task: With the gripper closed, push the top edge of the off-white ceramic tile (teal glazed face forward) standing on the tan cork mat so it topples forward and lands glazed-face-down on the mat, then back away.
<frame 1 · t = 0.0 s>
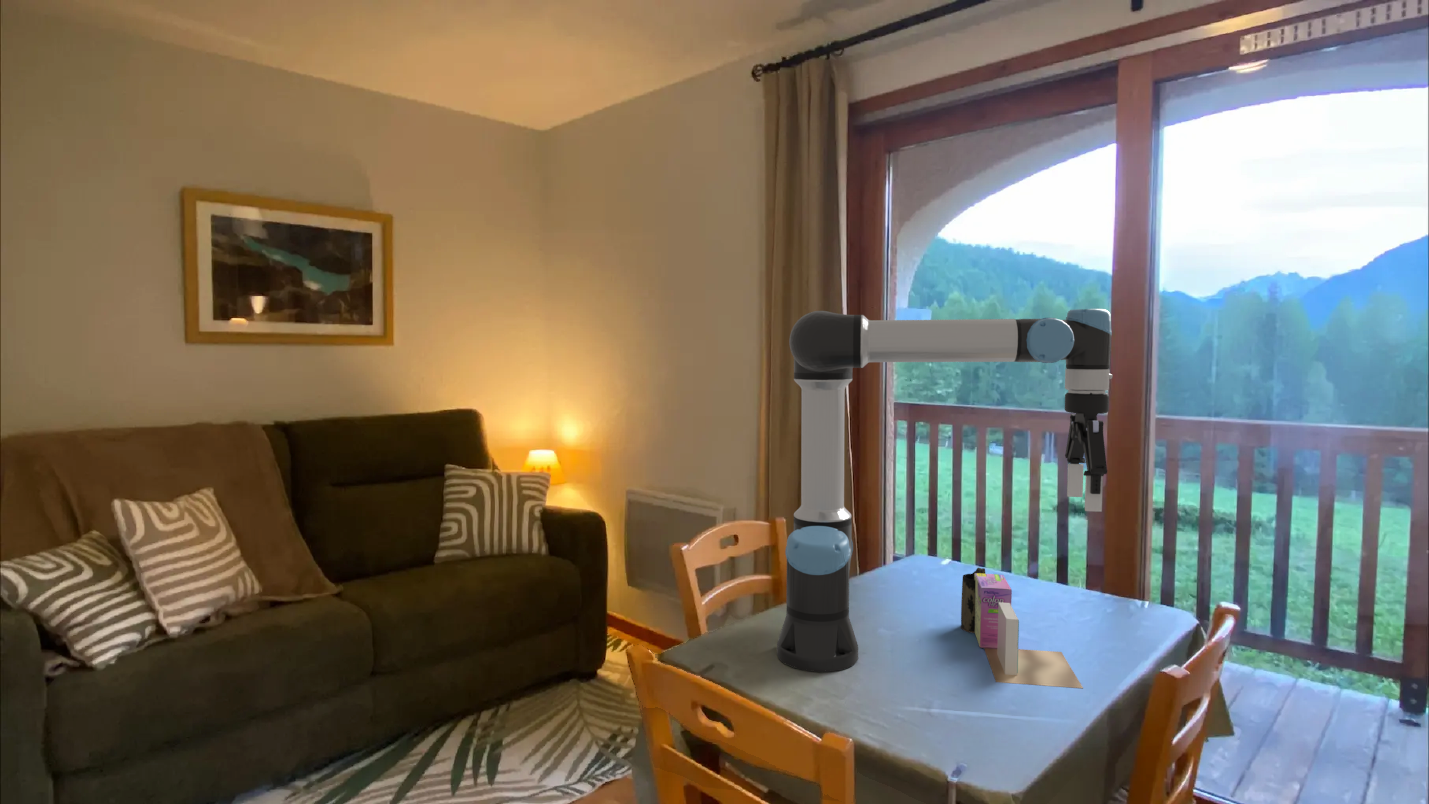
hand: (1083, 503, 151), 28 cm above the table, fingers open, 13 cm apart
box: (991, 640, 157), on the table, touching mug
mat: (1030, 668, 144), on the table
tile: (1006, 664, 144), resting on mat
mug: (976, 629, 164), on the table, touching box
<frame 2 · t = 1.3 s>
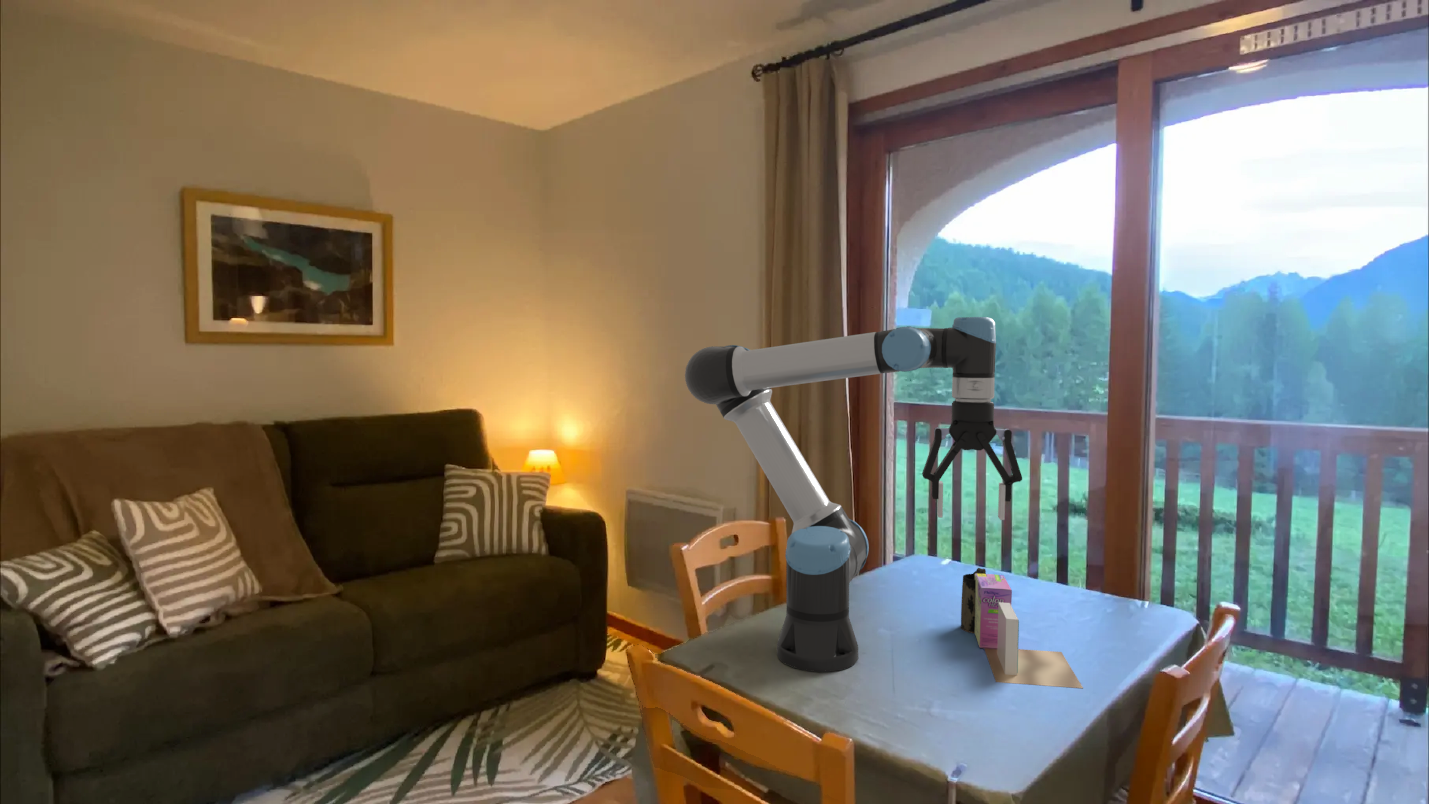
hand: (970, 517, 151), 26 cm above the table, fingers open, 10 cm apart
box: (991, 641, 157), on the table, touching mat, mug
everything else where it was.
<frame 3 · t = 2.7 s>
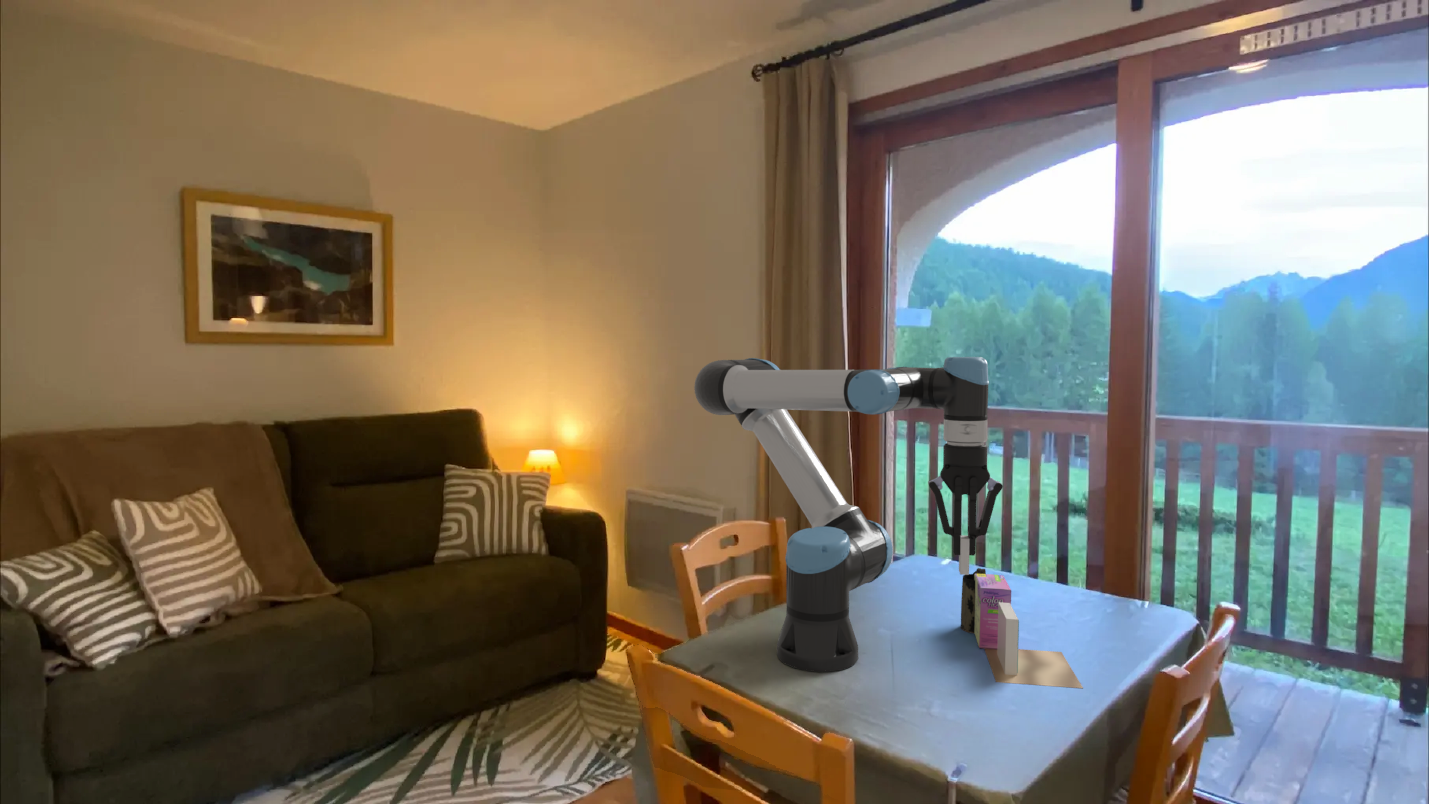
hand: (963, 572, 145), 17 cm above the table, fingers closed
nothing on the table moved.
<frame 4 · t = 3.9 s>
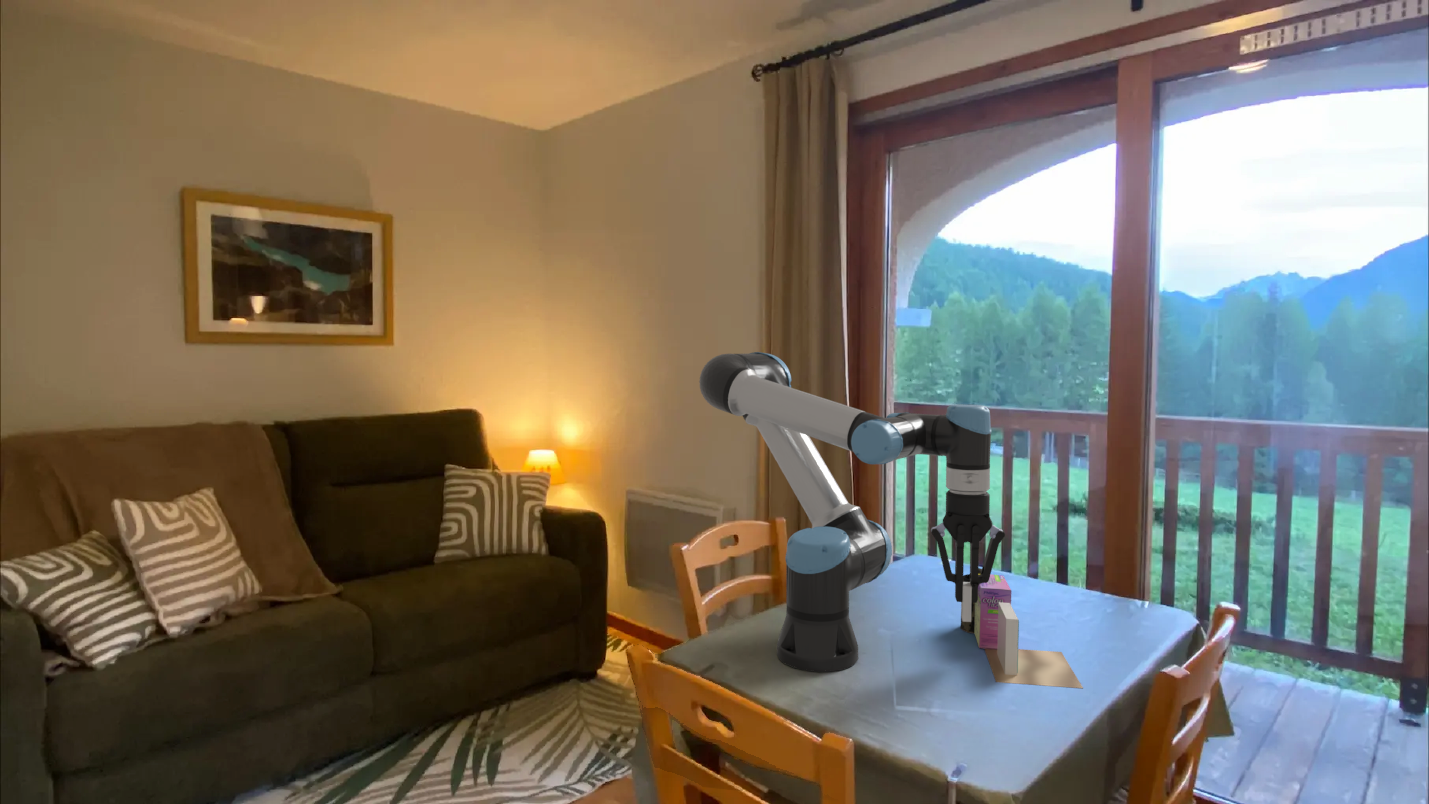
hand: (966, 618, 145), 9 cm above the table, fingers closed
nothing on the table moved.
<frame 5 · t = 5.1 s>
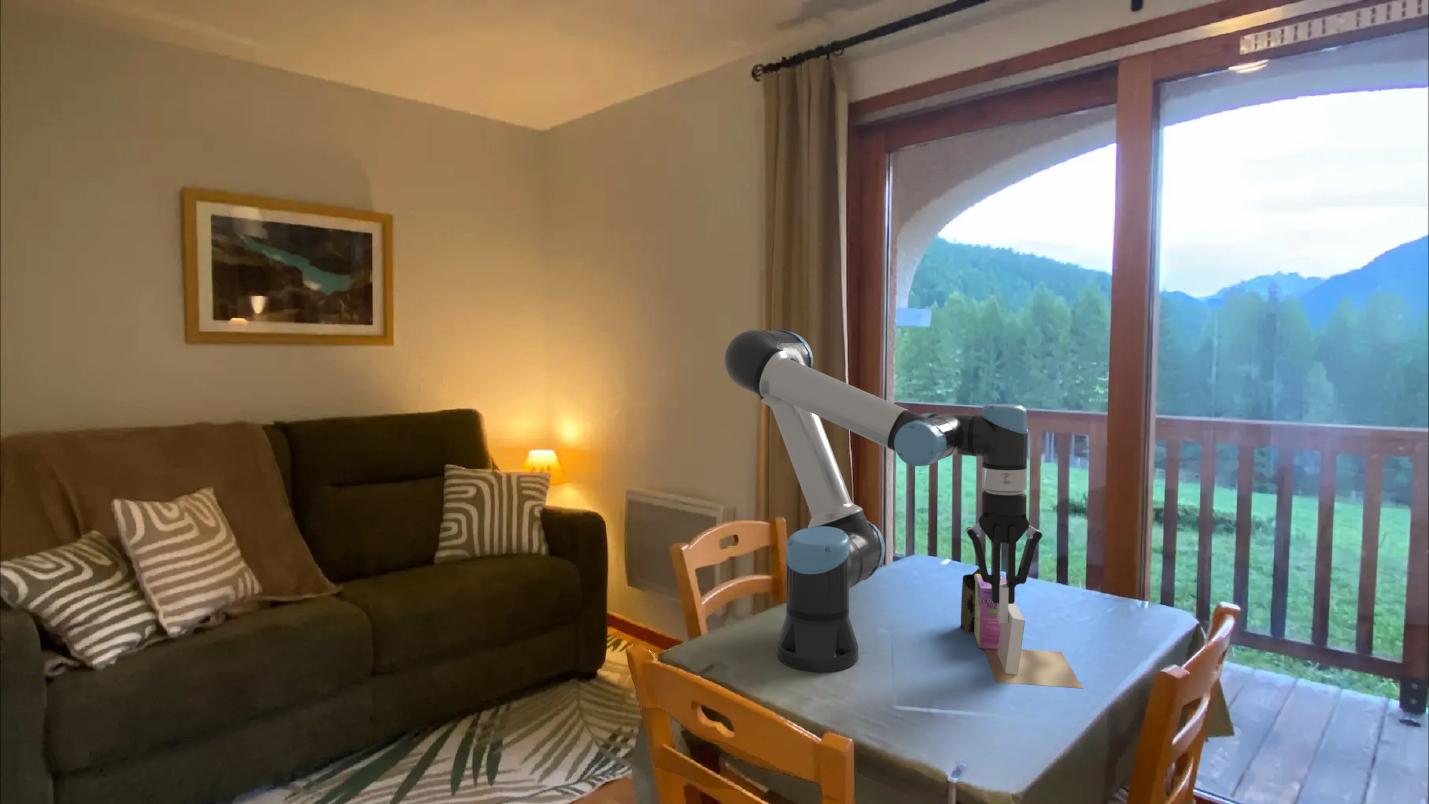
hand: (1002, 620, 144), 9 cm above the table, fingers closed
tile: (1006, 663, 144), point 1 cm above the table, tilted 6°, touching mat
everything else where it was.
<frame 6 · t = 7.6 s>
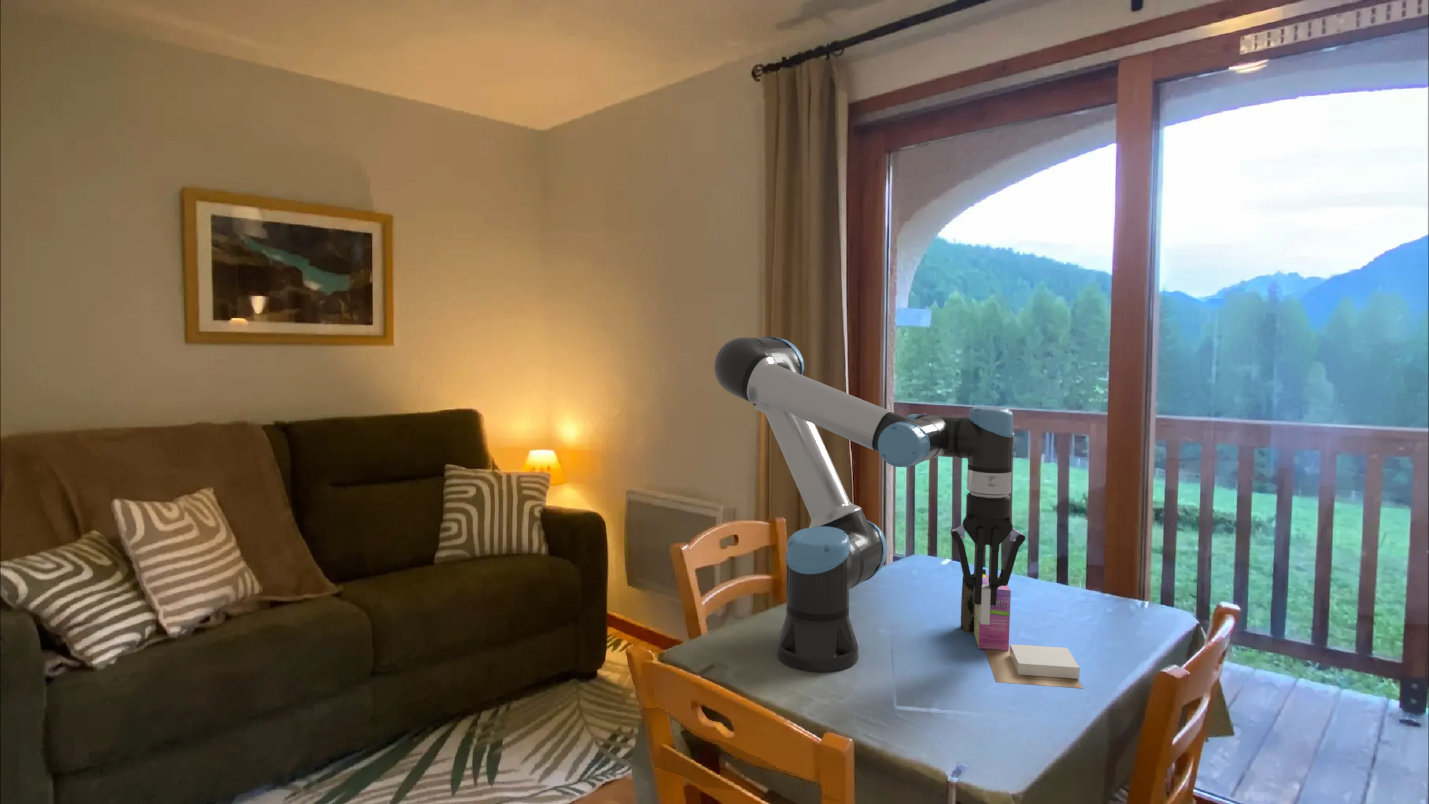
hand: (984, 621, 145), 8 cm above the table, fingers closed
tile: (1013, 658, 144), point 2 cm above the table, tilted 90°, touching mat
everything else where it was.
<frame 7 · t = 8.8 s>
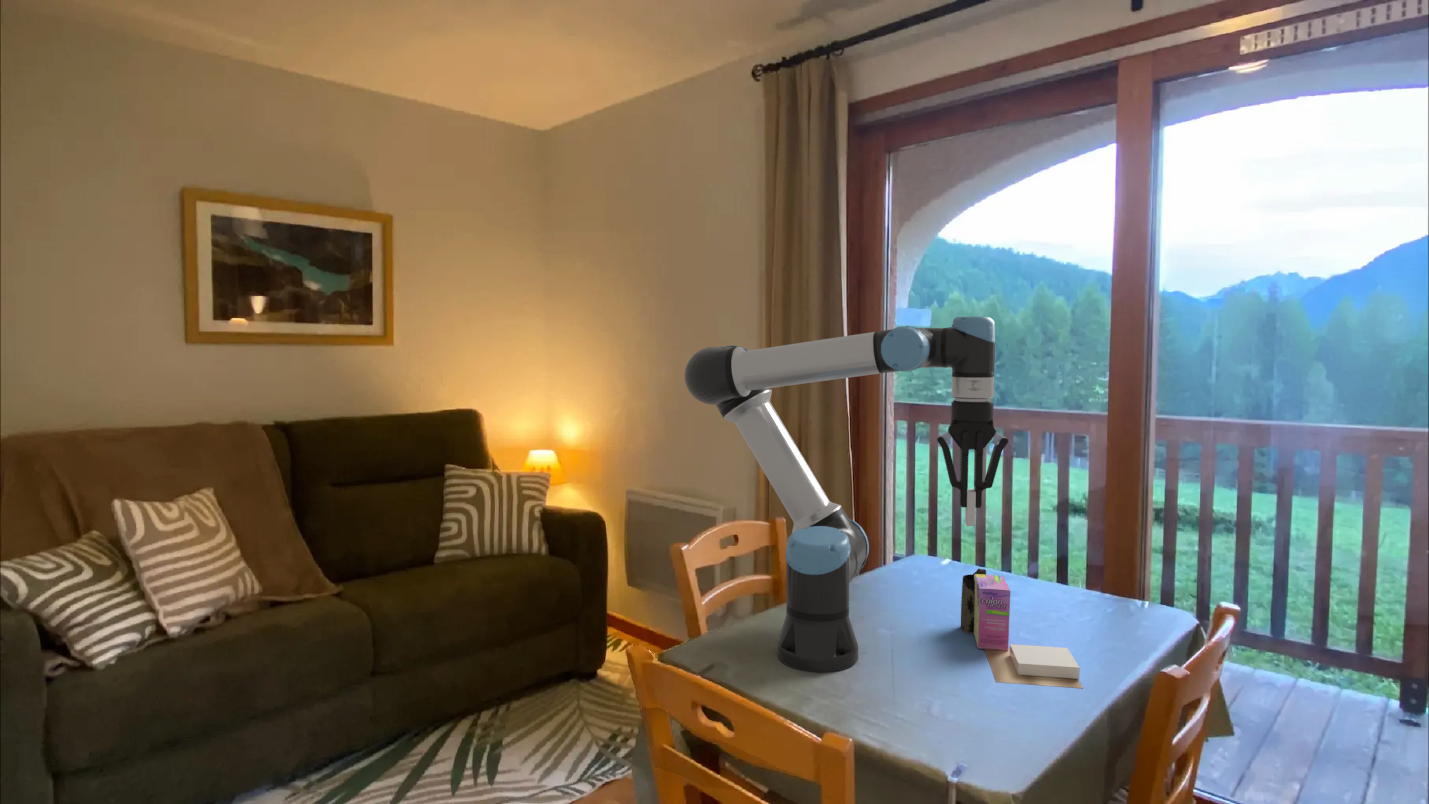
hand: (970, 524, 151), 24 cm above the table, fingers closed
nothing on the table moved.
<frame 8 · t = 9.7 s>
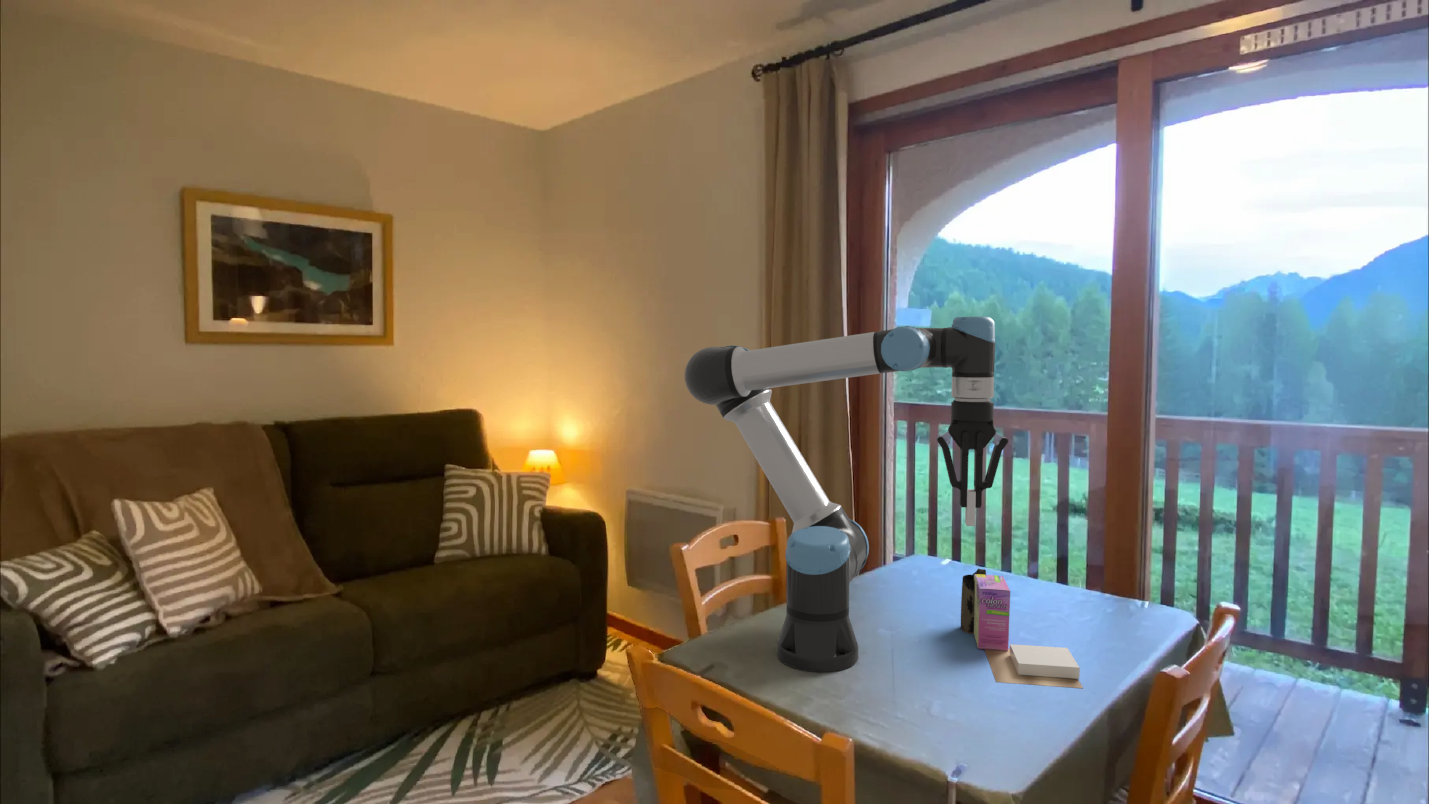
hand: (970, 524, 151), 24 cm above the table, fingers closed
box: (990, 642, 156), on the table, touching mug
everything else where it was.
at the end: tile tilted 90°; tile inside the target area (4.8 cm from its centre), point 1.6 cm above the table; tile touching mat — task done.
